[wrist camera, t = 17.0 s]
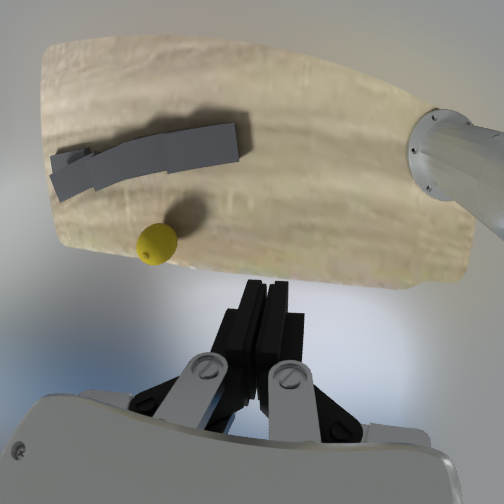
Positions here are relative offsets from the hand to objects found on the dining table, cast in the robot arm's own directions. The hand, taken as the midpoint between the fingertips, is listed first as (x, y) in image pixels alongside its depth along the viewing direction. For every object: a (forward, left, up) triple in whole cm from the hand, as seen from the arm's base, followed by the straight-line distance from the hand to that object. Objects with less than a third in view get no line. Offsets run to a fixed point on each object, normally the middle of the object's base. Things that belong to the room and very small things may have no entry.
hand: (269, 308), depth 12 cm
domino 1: (+32, -4, -27) cm, 42 cm away
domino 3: (+20, -4, -26) cm, 33 cm away
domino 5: (+7, -4, -26) cm, 27 cm away
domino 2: (+29, -3, -26) cm, 39 cm away
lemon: (+19, +9, -27) cm, 34 cm away
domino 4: (+13, -4, -26) cm, 30 cm away
